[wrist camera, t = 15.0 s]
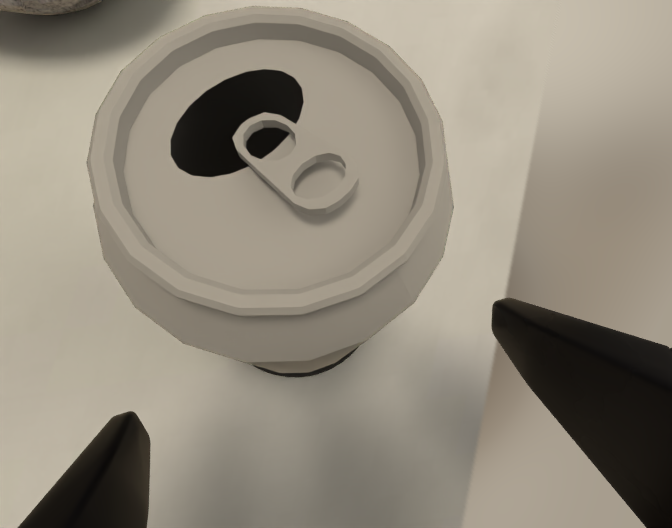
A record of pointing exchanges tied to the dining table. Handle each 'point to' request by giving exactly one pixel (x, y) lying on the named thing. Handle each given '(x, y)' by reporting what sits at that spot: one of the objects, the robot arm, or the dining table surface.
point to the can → (270, 185)
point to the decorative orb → (46, 6)
